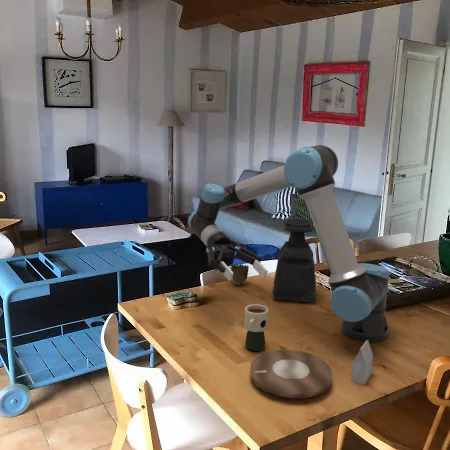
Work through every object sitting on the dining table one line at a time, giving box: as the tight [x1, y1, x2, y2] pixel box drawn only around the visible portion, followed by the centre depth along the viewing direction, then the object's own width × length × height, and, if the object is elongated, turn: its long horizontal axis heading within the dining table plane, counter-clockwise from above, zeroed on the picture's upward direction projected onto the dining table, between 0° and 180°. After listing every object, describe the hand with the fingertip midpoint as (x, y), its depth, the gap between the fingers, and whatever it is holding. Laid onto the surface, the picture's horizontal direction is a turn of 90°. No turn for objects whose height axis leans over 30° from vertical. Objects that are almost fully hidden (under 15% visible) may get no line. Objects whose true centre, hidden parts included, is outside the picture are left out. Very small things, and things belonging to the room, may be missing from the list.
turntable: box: [249, 349, 333, 399], centre depth 133 cm, size 22×22×2 cm
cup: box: [230, 263, 249, 287], centre depth 202 cm, size 8×7×8 cm
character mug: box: [243, 303, 269, 352], centre depth 149 cm, size 11×7×13 cm, turn 158°
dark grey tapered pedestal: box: [272, 217, 317, 303], centre depth 189 cm, size 18×16×30 cm
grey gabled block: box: [350, 340, 374, 386], centre depth 135 cm, size 4×7×10 cm, turn 148°
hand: (249, 275), depth 153 cm, fingers open, 13 cm apart
